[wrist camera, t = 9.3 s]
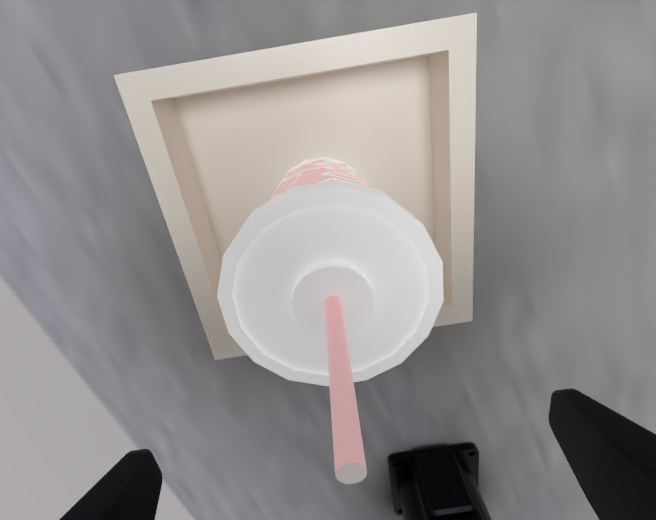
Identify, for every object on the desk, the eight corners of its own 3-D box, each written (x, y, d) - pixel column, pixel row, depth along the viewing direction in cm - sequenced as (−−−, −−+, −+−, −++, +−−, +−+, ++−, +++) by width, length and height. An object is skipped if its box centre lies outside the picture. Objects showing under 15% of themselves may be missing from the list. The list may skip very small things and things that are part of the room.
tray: (448, 286, 22) (472, 321, 18) (228, 320, 22) (215, 360, 19) (443, 27, 16) (476, 12, 13) (151, 77, 16) (113, 75, 13)
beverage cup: (407, 174, 18) (655, 387, 5) (350, 278, 20) (421, 612, 7) (288, 116, 16) (215, 204, 4) (241, 234, 19) (92, 546, 6)
